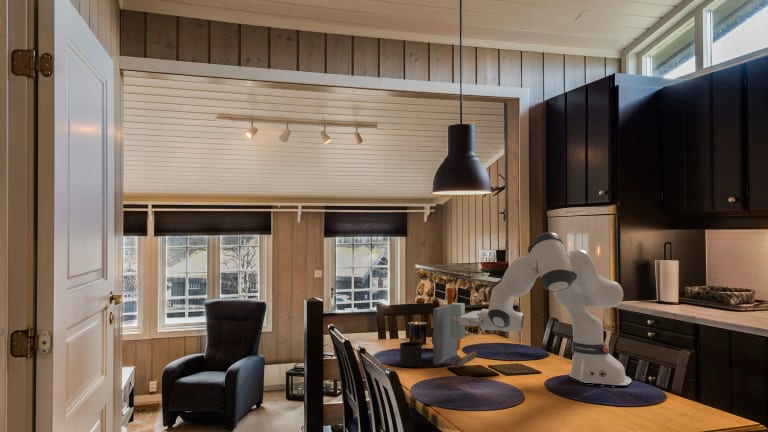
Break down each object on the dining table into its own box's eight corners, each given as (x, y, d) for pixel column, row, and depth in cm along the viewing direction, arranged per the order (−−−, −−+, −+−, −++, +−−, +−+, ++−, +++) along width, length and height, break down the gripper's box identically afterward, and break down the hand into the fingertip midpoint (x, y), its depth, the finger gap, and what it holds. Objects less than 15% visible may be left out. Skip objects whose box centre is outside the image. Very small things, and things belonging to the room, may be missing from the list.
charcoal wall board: (476, 357, 243) (476, 304, 244) (458, 367, 224) (457, 310, 225) (453, 354, 249) (453, 303, 250) (433, 364, 230) (433, 308, 231)
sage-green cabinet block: (464, 337, 235) (464, 303, 235) (461, 339, 230) (460, 304, 231) (454, 336, 237) (454, 302, 238) (450, 338, 233) (450, 304, 233)
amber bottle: (454, 351, 254) (454, 289, 255) (436, 349, 260) (436, 287, 261) (464, 348, 262) (464, 287, 263) (446, 345, 268) (447, 286, 269)
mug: (414, 360, 237) (414, 340, 237) (425, 366, 226) (425, 345, 226) (394, 361, 234) (394, 341, 234) (404, 368, 223) (404, 346, 223)
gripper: (478, 330, 219) (447, 327, 225) (492, 323, 237) (463, 321, 243) (478, 315, 219) (447, 312, 225) (492, 309, 237) (463, 307, 243)
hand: (455, 317), depth 234 cm, fingers closed on sage-green cabinet block, 5 cm apart
